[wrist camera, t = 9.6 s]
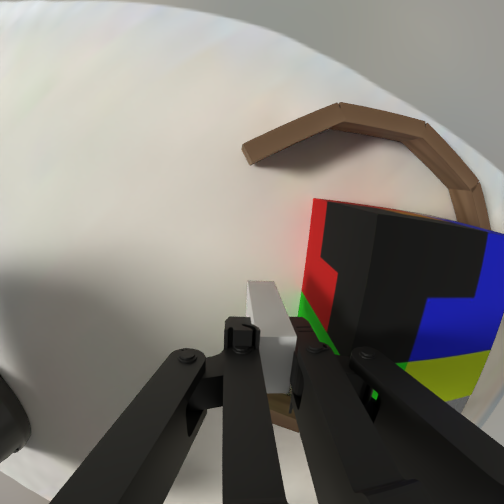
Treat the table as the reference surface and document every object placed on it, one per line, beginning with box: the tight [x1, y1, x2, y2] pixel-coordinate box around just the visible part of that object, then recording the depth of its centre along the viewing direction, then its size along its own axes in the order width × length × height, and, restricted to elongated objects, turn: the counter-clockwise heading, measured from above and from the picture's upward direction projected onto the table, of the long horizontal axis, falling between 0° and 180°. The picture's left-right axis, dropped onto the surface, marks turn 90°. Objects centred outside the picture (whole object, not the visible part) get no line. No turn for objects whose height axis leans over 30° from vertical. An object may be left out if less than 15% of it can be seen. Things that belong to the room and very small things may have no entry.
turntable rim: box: [241, 102, 491, 433], centre depth 21 cm, size 24×21×3 cm
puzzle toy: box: [298, 198, 504, 402], centre depth 17 cm, size 10×10×10 cm
